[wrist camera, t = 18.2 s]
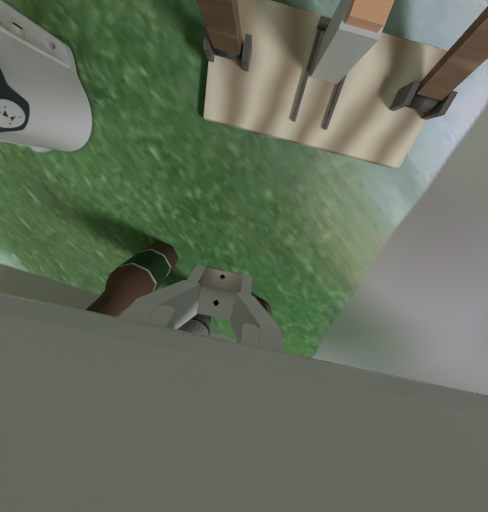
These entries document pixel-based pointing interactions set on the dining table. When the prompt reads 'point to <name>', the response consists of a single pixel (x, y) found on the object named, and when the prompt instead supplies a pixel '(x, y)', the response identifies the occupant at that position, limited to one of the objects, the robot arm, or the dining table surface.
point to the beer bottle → (135, 278)
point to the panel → (319, 87)
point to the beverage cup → (197, 325)
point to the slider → (349, 37)
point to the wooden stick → (454, 66)
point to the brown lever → (223, 27)
